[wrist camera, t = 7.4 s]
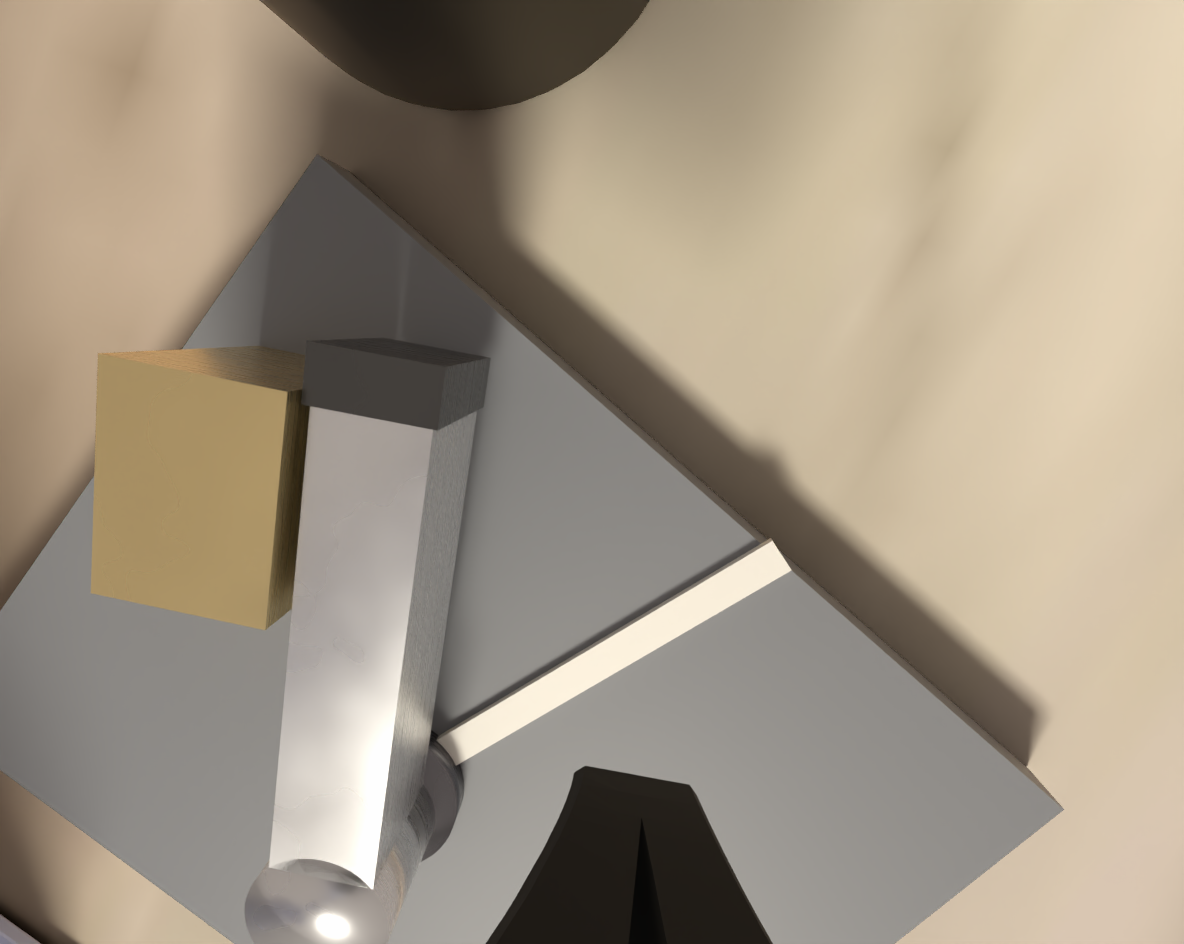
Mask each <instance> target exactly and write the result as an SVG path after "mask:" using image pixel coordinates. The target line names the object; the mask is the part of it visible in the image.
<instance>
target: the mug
mask: <svg viewBox="0 0 1184 944" xmlns="http://www.w3.org/2000/svg"><path fill="white" fill-rule="evenodd" d="M260 1H261V2H262V3H263V4H265V5H266V6H267V7H268V8H269V9H270V10H272V11H273V12H274V13H275V14H276V15H277V16H279V17H280V18H281V19H282V20H283V21H284V22H286V23H287V24H288V25H289V26H290V27H291V28H293V29H294V30H295V31H296V32H297V33H298V34H300V35H301V36H302V37H303V38H304V39H305V40H307V41H308V42H309V43H310V44H311V45H312V46H314V47H315V48H316V49H317V50H318V51H319V52H321V53H322V54H323V55H324V56H325V57H327V58H328V59H329V60H331V61H332V62H333V63H335V64H336V65H337V66H339V67H340V68H341V69H343V70H344V71H345V72H347V73H348V74H349V75H351V76H353V77H354V78H356V79H357V80H359V81H361V82H362V83H364V84H366V85H368V86H370V87H372V88H374V89H376V90H378V91H379V92H381V93H383V94H385V95H388V96H391V97H394V98H397V99H400V100H403V101H406V102H409V103H413V104H417V105H421V106H426V107H433V108H439V109H446V110H480V109H490V108H496V107H501V106H506V105H511V104H516V103H520V102H523V101H525V100H528V99H530V98H533V97H536V96H538V95H541V94H543V93H546V92H548V91H550V90H552V89H554V88H556V87H558V86H560V85H562V84H563V83H565V82H567V81H568V80H570V79H572V78H574V77H575V76H577V75H579V74H580V73H582V72H584V71H585V70H586V69H587V68H588V67H590V66H591V65H592V64H593V63H594V62H596V61H597V60H598V59H599V58H600V57H602V56H603V55H604V54H605V53H606V52H607V51H608V50H610V49H611V48H612V47H613V46H614V45H615V44H616V43H617V42H618V40H619V39H620V38H621V37H622V36H623V35H624V34H625V33H626V31H627V30H628V29H629V28H630V27H631V26H632V25H633V24H634V22H635V21H636V20H637V19H638V17H639V16H640V14H641V13H642V11H643V10H644V8H645V7H646V5H647V4H648V2H649V1H650V0H260Z"/></svg>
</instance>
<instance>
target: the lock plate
mask: <svg viewBox="0 0 1184 944" xmlns="http://www.w3.org/2000/svg"><path fill="white" fill-rule="evenodd" d="M360 338H388V339H394V340H399V341H404V342H410V343H415V344H420V345H426V346H431V347H436V348H442V349H447V350H452V351H457V352H463V353H468V354H473V355H479V356H484V357H489V358H491V360H490V367H489V374H488V381H487V388H486V394H485V401H484V407H483V408H481V409H479V410H477V415H476V422H475V429H474V436H473V443H472V450H471V456H470V463H469V470H468V477H467V484H466V491H465V498H464V505H463V512H462V519H461V526H460V533H459V540H458V547H457V554H456V561H455V567H454V574H453V581H452V588H451V595H450V602H449V609H448V616H447V623H446V630H445V637H444V644H443V651H442V658H441V665H440V672H439V678H438V685H437V692H436V699H435V706H434V713H433V720H432V727H431V730H432V731H434V732H435V733H436V734H438V735H439V736H438V738H437V740H436V741H438V742H439V743H440V744H441V745H442V746H443V747H444V748H445V750H446V751H447V752H448V753H449V755H450V756H451V758H452V759H453V761H454V763H455V765H458V764H460V766H461V769H462V773H463V778H464V797H463V801H462V805H461V807H460V810H459V813H458V815H457V818H456V821H455V823H454V826H453V828H452V831H451V833H450V836H449V837H448V839H447V840H446V842H445V843H444V845H443V846H442V847H441V848H440V849H439V850H438V851H437V852H436V853H435V854H433V855H432V856H430V857H429V858H427V859H426V860H424V861H422V862H420V865H419V867H418V869H417V872H416V874H415V877H414V879H413V882H412V884H411V886H410V889H409V891H408V894H407V896H406V899H405V901H404V904H403V906H402V908H401V911H400V913H399V916H398V918H397V921H396V923H395V925H394V928H393V930H392V933H391V935H390V938H389V940H388V942H387V944H486V942H487V941H488V939H489V938H490V936H491V935H492V933H493V932H494V930H495V929H496V927H497V926H498V924H499V923H500V921H501V920H502V918H503V917H504V915H505V914H506V912H507V910H508V909H509V907H510V906H511V904H512V902H513V901H514V899H515V897H516V896H517V894H518V892H519V890H520V889H521V887H522V885H523V883H524V882H525V880H526V878H527V877H528V875H529V873H530V871H531V870H532V868H533V866H534V864H535V863H536V861H537V859H538V857H539V856H540V854H541V852H542V850H543V848H544V847H545V845H546V843H547V841H548V839H549V837H550V835H551V833H552V830H553V828H554V826H555V824H556V822H557V820H558V818H559V816H560V814H561V811H562V809H563V807H564V804H565V802H566V799H567V796H568V793H569V791H570V788H571V784H572V780H573V775H574V772H576V771H577V770H579V769H581V768H582V767H584V766H590V767H596V768H601V769H607V770H612V771H618V772H623V773H629V774H634V775H640V776H645V777H650V778H656V779H661V780H667V781H672V782H678V783H683V784H689V785H690V786H691V787H692V789H693V790H694V792H695V793H696V795H697V797H698V799H699V801H700V803H701V805H702V808H703V810H704V812H705V814H706V816H707V818H708V821H709V823H710V825H711V827H712V829H713V831H714V833H715V835H716V837H717V839H718V841H719V843H720V845H721V847H722V849H723V851H724V853H725V855H726V857H727V859H728V861H729V863H730V865H731V867H732V869H733V871H734V873H735V875H736V877H737V879H738V881H739V883H740V885H741V887H742V889H743V890H744V892H745V894H746V896H747V898H748V900H749V902H750V903H751V905H752V907H753V909H754V911H755V913H756V914H757V916H758V918H759V920H760V922H761V923H762V925H763V927H764V929H765V930H766V932H767V934H768V936H769V937H770V939H771V941H772V943H773V944H895V943H896V942H897V941H899V940H900V939H901V938H902V937H904V936H905V935H906V934H907V933H909V932H910V931H911V930H913V929H914V928H915V927H916V926H918V925H919V924H920V923H921V922H923V921H924V920H925V919H926V918H928V917H929V916H930V915H931V914H933V913H934V912H935V911H937V910H938V909H939V908H940V907H942V906H943V905H944V904H945V903H947V902H948V901H949V900H950V899H952V898H953V897H954V896H955V895H957V894H958V893H959V892H961V891H962V890H963V889H964V888H966V887H967V886H968V885H969V884H971V883H972V882H973V881H974V880H976V879H977V878H978V877H979V876H981V875H982V874H983V873H985V872H986V871H987V870H988V869H990V868H991V867H992V866H993V865H995V864H996V863H997V862H998V861H1000V860H1001V859H1002V858H1003V857H1005V856H1006V855H1007V854H1009V853H1010V852H1011V851H1012V850H1014V849H1015V848H1016V847H1017V846H1019V845H1020V844H1021V843H1022V842H1024V841H1025V840H1026V839H1027V838H1029V837H1030V836H1031V835H1033V834H1034V833H1035V832H1036V831H1038V830H1039V829H1040V828H1041V827H1043V826H1044V825H1045V824H1046V823H1048V822H1049V821H1050V820H1051V819H1053V818H1054V817H1055V816H1057V815H1058V814H1059V813H1060V812H1062V811H1063V810H1064V809H1063V808H1062V807H1061V805H1060V804H1059V803H1058V802H1057V801H1056V800H1055V799H1054V797H1053V796H1052V795H1051V794H1050V793H1049V792H1048V791H1047V789H1046V788H1045V787H1044V786H1043V785H1042V784H1041V783H1040V782H1039V780H1038V779H1037V778H1036V777H1035V776H1034V775H1033V774H1032V772H1031V771H1030V770H1029V769H1028V768H1027V767H1026V766H1025V765H1024V764H1022V763H1021V762H1020V761H1019V760H1018V759H1017V758H1016V757H1014V756H1013V755H1012V754H1011V753H1010V752H1009V751H1008V750H1006V749H1005V748H1004V747H1003V746H1002V745H1001V744H1000V743H998V742H997V741H996V740H995V739H994V738H993V737H992V736H991V735H989V734H988V733H987V732H986V731H985V730H984V729H983V728H981V727H980V726H979V725H978V724H977V723H976V722H975V721H973V720H972V719H971V718H970V717H969V716H968V715H967V714H965V713H964V712H963V711H962V710H961V709H960V708H959V707H958V706H956V705H955V704H954V703H953V702H952V701H951V700H950V699H948V698H947V697H946V696H945V695H944V694H943V693H942V692H940V691H939V690H938V689H937V688H936V687H935V686H934V685H932V684H931V683H930V682H929V681H928V680H927V679H926V678H925V677H923V676H922V675H921V674H920V673H919V672H918V671H917V670H915V669H914V668H913V667H912V666H911V665H910V664H909V663H907V662H906V661H905V660H904V659H903V658H902V657H901V656H900V655H898V654H897V653H896V652H895V651H894V650H893V649H892V648H890V647H889V646H888V645H887V644H886V643H885V642H884V641H882V640H881V639H880V638H879V637H878V636H877V635H876V634H874V633H873V632H872V631H871V630H870V629H869V628H868V627H867V626H865V625H864V624H863V623H862V622H861V621H860V620H859V619H857V618H856V617H855V616H854V615H853V614H852V613H851V612H849V611H848V610H847V609H846V608H845V607H844V606H843V605H841V604H840V603H839V602H838V601H837V600H836V599H835V598H834V597H832V596H831V595H830V594H829V593H828V592H827V591H826V590H824V589H823V588H822V587H821V586H820V585H819V584H818V583H816V582H815V581H814V580H813V579H812V578H811V577H810V576H809V575H807V574H806V573H805V572H804V571H803V570H802V569H801V568H799V567H798V566H797V565H796V564H795V563H794V562H793V561H791V560H790V559H789V558H788V557H787V556H786V555H785V554H783V553H782V552H781V551H780V550H779V549H778V548H777V547H776V545H775V544H774V542H773V541H772V539H771V538H770V539H766V538H765V537H764V536H763V535H762V534H761V533H760V532H758V531H757V530H756V529H755V528H754V527H753V526H752V525H750V524H749V523H748V522H747V521H746V520H745V519H744V518H743V517H741V516H740V515H739V514H738V513H737V512H736V511H735V510H733V509H732V508H731V507H730V506H729V505H728V504H727V503H725V502H724V501H723V500H722V499H721V498H720V497H719V496H717V495H716V494H715V493H714V492H713V491H712V490H711V489H710V488H708V487H707V486H706V485H705V484H704V483H703V482H702V481H700V480H699V479H698V478H697V477H696V476H695V475H694V474H692V473H691V472H690V471H689V470H688V469H687V468H686V467H685V466H683V465H682V464H681V463H680V462H679V461H678V460H677V459H675V458H674V457H673V456H672V455H671V454H670V453H669V452H667V451H666V450H665V449H664V448H663V447H662V446H661V445H659V444H658V443H657V442H656V441H655V440H654V439H653V438H652V437H650V436H649V435H648V434H647V433H646V432H645V431H644V430H642V429H641V428H640V427H639V426H638V425H637V424H636V423H634V422H633V421H632V420H631V419H630V418H629V417H628V416H626V415H625V414H624V413H623V412H622V411H621V410H620V409H619V408H617V407H616V406H615V405H614V404H613V403H612V402H611V401H609V400H608V399H607V398H606V397H605V396H604V395H603V394H601V393H600V392H599V391H598V390H597V389H596V388H595V387H594V386H592V385H591V384H590V383H589V382H588V381H587V380H586V379H584V378H583V377H582V376H581V375H580V374H579V373H578V372H576V371H575V370H574V369H573V368H572V367H571V366H570V365H568V364H567V363H566V362H565V361H564V360H563V359H562V358H561V357H559V356H558V355H557V354H556V353H555V352H554V351H553V350H551V349H550V348H549V347H548V346H547V345H546V344H545V343H543V342H542V341H541V340H540V339H539V338H538V337H537V336H535V335H534V334H533V333H532V332H531V331H530V330H529V329H528V328H526V327H525V326H524V325H523V324H522V323H521V322H520V321H518V320H517V319H516V318H515V317H514V316H513V315H512V314H510V313H509V312H508V311H507V310H506V309H505V308H504V307H502V306H501V305H500V304H499V303H498V302H497V301H496V300H495V299H493V298H492V297H491V296H490V295H489V294H488V293H487V292H485V291H484V290H483V289H482V288H481V287H480V286H479V285H477V284H476V283H475V282H474V281H473V280H472V279H471V278H470V277H468V276H467V275H466V274H465V273H464V272H463V271H462V270H460V269H459V268H458V267H457V266H456V265H455V264H454V263H452V262H451V261H450V260H449V259H448V258H447V257H446V256H444V255H443V254H442V253H441V252H440V251H439V250H438V249H437V248H435V247H434V246H433V245H432V244H431V243H430V242H429V241H427V240H426V239H425V238H424V237H423V236H422V235H421V234H419V233H418V232H417V231H416V230H415V229H414V228H413V227H411V226H410V225H409V224H408V223H407V222H406V221H405V220H404V219H402V218H401V217H400V216H399V215H398V214H397V213H396V212H394V211H393V210H392V209H391V208H390V207H389V206H388V205H386V204H385V203H384V202H383V201H382V200H381V199H380V198H379V197H377V196H376V195H375V194H374V193H373V192H372V191H371V190H369V189H368V188H367V187H366V186H365V185H364V184H363V183H361V182H360V181H359V180H358V179H357V178H356V177H355V176H353V175H352V174H351V173H350V172H349V171H348V170H346V169H344V168H342V167H340V166H338V165H336V164H335V163H333V162H331V161H329V160H327V159H325V158H323V157H321V156H320V155H318V154H317V155H316V157H315V158H314V159H313V161H312V162H311V164H310V165H309V167H308V168H307V170H306V171H305V172H304V174H303V175H302V177H301V178H300V180H299V181H298V183H297V184H296V185H295V187H294V188H293V190H292V191H291V193H290V194H289V196H288V197H287V198H286V200H285V201H284V203H283V204H282V206H281V207H280V208H279V210H278V211H277V213H276V214H275V216H274V217H273V219H272V220H271V221H270V223H269V224H268V226H267V227H266V229H265V230H264V232H263V233H262V234H261V236H260V237H259V239H258V240H257V242H256V243H255V245H254V246H253V247H252V249H251V250H250V252H249V253H248V255H247V256H246V257H245V259H244V260H243V262H242V263H241V265H240V266H239V268H238V269H237V270H236V272H235V273H234V275H233V276H232V278H231V279H230V281H229V282H228V283H227V285H226V286H225V288H224V289H223V291H222V292H221V294H220V295H219V296H218V298H217V299H216V301H215V302H214V304H213V305H212V307H211V308H210V309H209V311H208V312H207V314H206V315H205V317H204V318H203V319H202V321H201V322H200V324H199V325H198V327H197V328H196V330H195V331H194V332H193V334H192V335H191V337H190V338H189V340H188V341H187V343H186V344H185V345H184V347H183V348H182V349H200V348H220V347H241V346H263V347H268V348H273V349H278V350H283V351H288V352H293V353H298V354H303V355H305V352H306V341H311V340H336V339H360ZM93 501H94V477H93V478H92V479H91V481H90V482H89V484H88V485H87V487H86V488H85V490H84V491H83V492H82V494H81V495H80V497H79V498H78V500H77V501H76V503H75V504H74V505H73V507H72V508H71V510H70V511H69V513H68V514H67V516H66V517H65V518H64V520H63V521H62V523H61V524H60V526H59V527H58V529H57V530H56V531H55V533H54V534H53V536H52V537H51V539H50V540H49V541H48V543H47V544H46V546H45V547H44V549H43V550H42V552H41V553H40V554H39V556H38V557H37V559H36V560H35V562H34V563H33V565H32V566H31V567H30V569H29V570H28V572H27V573H26V575H25V576H24V578H23V579H22V580H21V582H20V583H19V585H18V586H17V588H16V589H15V590H14V592H13V593H12V595H11V596H10V598H9V599H8V601H7V602H6V603H5V605H4V606H3V608H2V609H1V611H0V770H1V771H2V772H3V773H5V774H6V775H7V776H9V777H10V778H11V779H13V780H14V781H15V782H17V783H18V784H19V785H21V786H22V787H24V788H25V789H26V790H28V791H29V792H30V793H32V794H33V795H34V796H36V797H37V798H38V799H40V800H41V801H42V802H44V803H45V804H46V805H48V806H49V807H50V808H52V809H53V810H55V811H56V812H57V813H59V814H60V815H61V816H63V817H64V818H65V819H67V820H68V821H69V822H71V823H72V824H73V825H75V826H76V827H77V828H79V829H80V830H82V831H83V832H84V833H86V834H87V835H88V836H90V837H91V838H92V839H94V840H95V841H96V842H98V843H99V844H100V845H102V846H103V847H104V848H106V849H107V850H109V851H110V852H111V853H113V854H114V855H115V856H117V857H118V858H119V859H121V860H122V861H123V862H125V863H126V864H127V865H129V866H130V867H131V868H133V869H134V870H135V871H137V872H138V873H140V874H141V875H142V876H144V877H145V878H146V879H148V880H149V881H150V882H152V883H153V884H154V885H156V886H157V887H158V888H160V889H161V890H162V891H164V892H165V893H167V894H168V895H169V896H171V897H172V898H173V899H175V900H176V901H177V902H179V903H180V904H181V905H183V906H184V907H185V908H187V909H188V910H189V911H191V912H192V913H194V914H195V915H196V916H198V917H199V918H200V919H202V920H203V921H204V922H206V923H207V924H208V925H210V926H211V927H212V928H214V929H215V930H216V931H218V932H219V933H220V934H222V935H223V936H225V937H226V938H227V939H229V940H230V941H231V942H233V943H234V944H254V942H253V940H252V939H251V936H250V934H249V932H248V929H247V926H246V922H245V901H246V897H247V894H248V891H249V889H250V888H251V886H252V884H253V883H254V881H255V880H256V878H257V877H258V875H259V874H260V873H261V871H262V870H263V868H264V867H265V865H266V864H267V862H268V861H269V860H270V849H271V838H272V827H273V815H274V804H275V793H276V782H277V771H278V759H279V748H280V737H281V726H282V715H283V703H284V692H285V681H286V670H287V659H288V647H289V636H290V625H291V614H292V609H291V610H290V611H289V612H287V613H286V614H285V615H284V616H282V617H281V618H280V619H279V620H277V621H276V622H275V623H274V624H272V625H271V626H270V627H269V628H268V629H266V630H261V629H256V628H252V627H247V626H242V625H238V624H233V623H228V622H224V621H219V620H214V619H210V618H205V617H200V616H195V615H191V614H186V613H181V612H177V611H172V610H167V609H163V608H158V607H153V606H148V605H144V604H139V603H134V602H130V601H125V600H120V599H116V598H111V597H106V596H102V595H97V594H92V593H91V567H92V534H93Z"/></svg>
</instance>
